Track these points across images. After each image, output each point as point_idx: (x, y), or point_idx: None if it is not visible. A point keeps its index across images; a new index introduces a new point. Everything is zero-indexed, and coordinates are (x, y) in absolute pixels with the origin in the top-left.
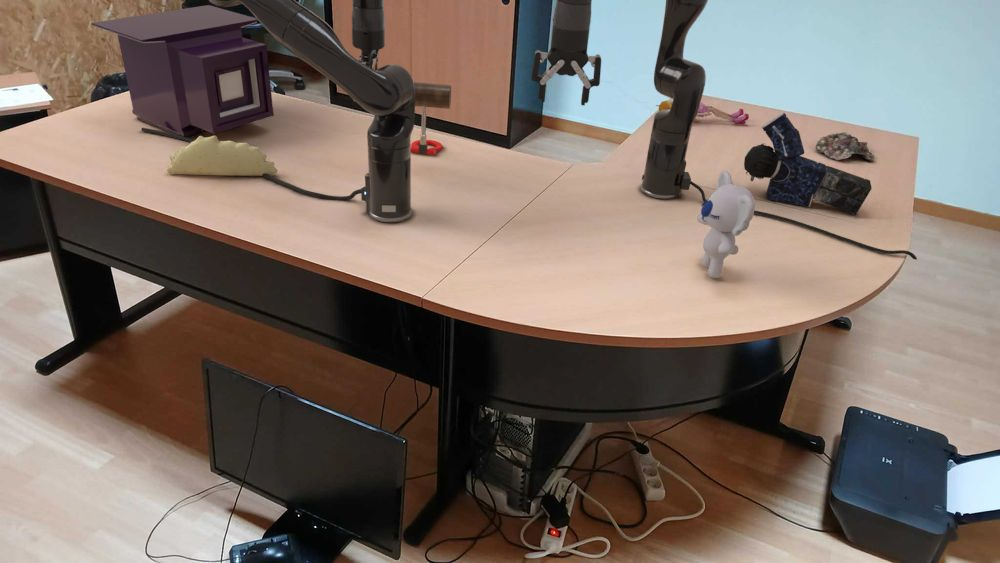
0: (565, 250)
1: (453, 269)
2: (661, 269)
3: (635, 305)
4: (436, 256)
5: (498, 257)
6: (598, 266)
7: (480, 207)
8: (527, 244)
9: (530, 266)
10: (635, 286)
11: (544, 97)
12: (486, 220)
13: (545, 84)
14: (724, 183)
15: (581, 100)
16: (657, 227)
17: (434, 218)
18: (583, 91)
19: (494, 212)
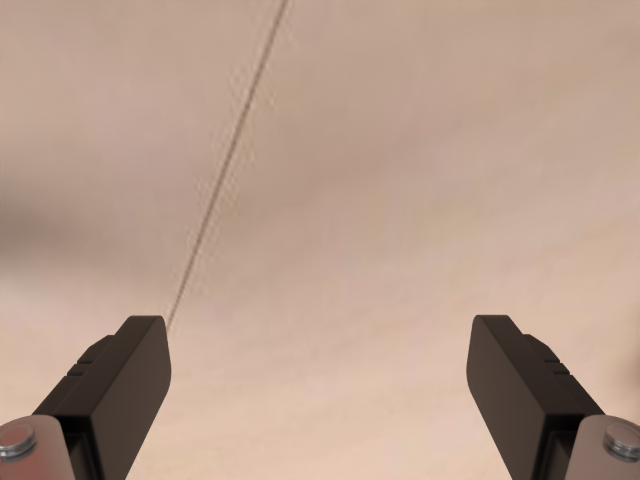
0: (353, 320)
1: None
2: None
3: (465, 471)
4: None
5: (211, 366)
6: (418, 369)
7: (120, 136)
8: (267, 308)
9: (279, 387)
10: (479, 422)
11: (153, 411)
12: (153, 211)
13: (96, 478)
14: None
15: (480, 347)
16: (610, 172)
17: (22, 223)
18: (516, 477)
19: (164, 161)
